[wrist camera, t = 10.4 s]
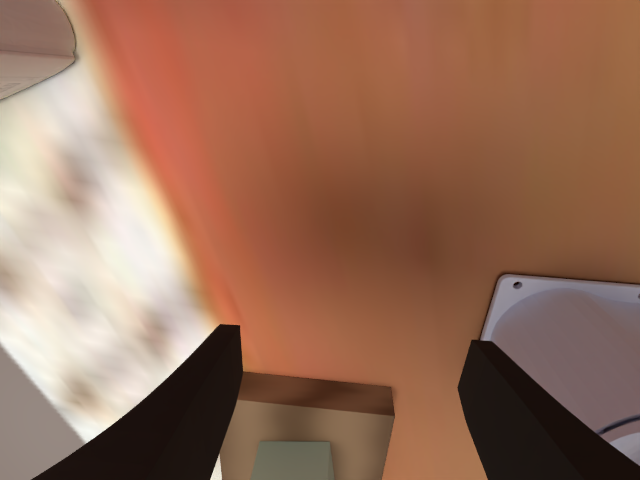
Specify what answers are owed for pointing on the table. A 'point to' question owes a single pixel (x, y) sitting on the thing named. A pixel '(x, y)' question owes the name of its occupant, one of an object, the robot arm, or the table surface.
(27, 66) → the photo printer
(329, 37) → the table surface
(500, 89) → the table surface
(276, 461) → the sage wooden cube
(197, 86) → the table surface
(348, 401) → the walnut riser block
